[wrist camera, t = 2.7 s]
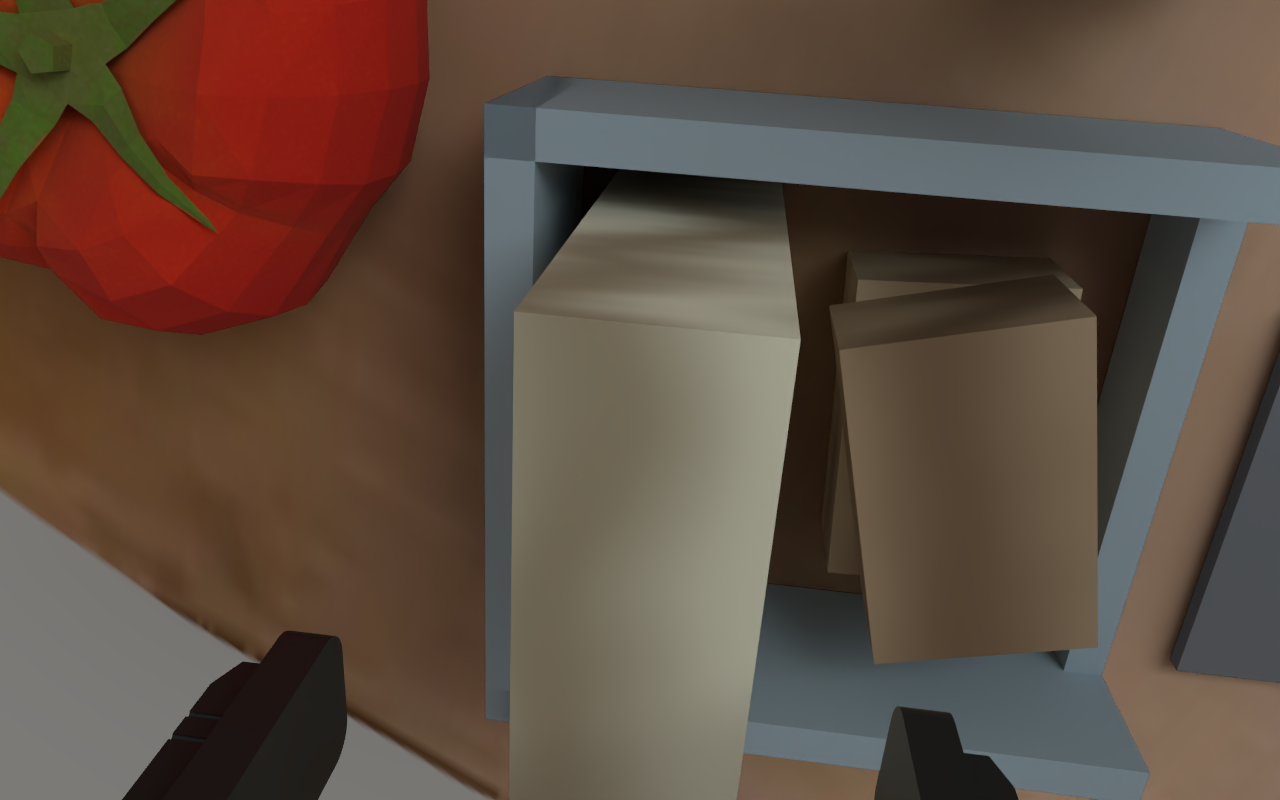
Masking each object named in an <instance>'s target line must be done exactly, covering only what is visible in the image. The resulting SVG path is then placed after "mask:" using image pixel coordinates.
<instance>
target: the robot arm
mask: <svg viewBox="0 0 1280 800" xmlns="http://www.w3.org/2000/svg"><path fill="white" fill-rule="evenodd" d="M346 727H347V709H346V695H345V682H344V668H343V654H342V645H341V641H340V639H339V638H338V637H336V636H329V635H321V634H313V633H305V632H296V631H285V632H284V633H282V634H281V635H280V637H279V638H278V639H277V641H276V642H275V643H274V645H273V646H272V648H271V649H270V650H269V652H268V653H267V655H266V656H265V657H264V659H263V660H262V662H261V663H260V664H258V663H250V662H242V663H240V664H239V665H237V666H236V667H234V668H233V669H232V670H230V671H229V672H227V673H226V674H224V675H223V676H221V677H220V678H218V679H217V680H215V681H214V682H213V683H211V684H210V685H209V687H208V688H207V689H206V691H205V692H204V693H203V695H202V696H201V697H200V698H199V700H198V701H197V702H196V704H195V705H194V706H193V708H192V709H191V710H190V714H189V716H188V717H185V718H184V719H183V721H182V722H181V723H180V725H179V726H178V727H177V729H176V730H175V731H174V733H173V736H172V739H171V740H170V739H168V740H167V742H166V743H165V744H164V746H163V747H162V748H161V750H160V751H159V752H158V753H157V755H156V756H155V757H154V759H153V760H152V761H151V763H150V764H149V765H148V766H147V768H146V769H145V771H144V772H143V773H142V774H141V776H140V777H139V778H138V780H137V781H136V782H135V783H134V785H133V786H132V788H131V789H130V790H129V792H128V793H127V794H126V795H125V797H124V798H123V799H122V800H318V798H319V796H320V795H321V792H322V790H323V789H324V787H325V785H326V783H327V781H328V779H329V777H330V775H331V774H332V772H333V770H334V768H335V766H336V764H337V762H338V760H339V757H340V754H341V751H342V748H343V744H344V740H345V735H346ZM874 800H1018V797H1017V794H1016V791H1015V788H1014V786H1013V785H1012V784H1011V782H1010V781H1009V780H1008V779H1007V778H1006V776H1005V775H1004V774H1003V773H1002V771H1001V770H1000V769H999V768H998V766H997V765H996V764H995V763H994V761H993V760H992V759H991V758H990V757H989V756H985V755H977V754H969V753H964V752H963V749H962V745H961V742H960V738H959V735H958V731H957V727H956V724H955V721H954V718H953V716H952V714H951V713H949V712H941V711H933V710H925V709H917V708H909V707H900V706H897V707H896V708H895V709H894V711H893V714H892V717H891V722H890V726H889V731H888V735H887V740H886V744H885V749H884V753H883V758H882V762H881V767H880V771H879V776H878V780H877V785H876V791H875V799H874Z"/></svg>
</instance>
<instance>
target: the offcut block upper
mask: <svg viewBox="0 0 1280 800" xmlns="http://www.w3.org/2000/svg"><path fill="white" fill-rule="evenodd" d="M829 308H830V317H831V326H832V334H833V343H834V352H835V361H836V370H837V379H838V387H839V396H840V405H841V414H842V423H843V432H844V440H845V449H846V458H847V467H848V476H849V485H850V493H851V502H852V511H853V520H854V529H855V538H856V546H857V555H858V564H859V573H860V582H861V591H862V597H863V602H864V608H865V614H866V620H867V626H868V631H869V637H870V643H871V649H872V655H873V660H874V664H884V663H898V662H911V661H924V660H938V659H951V658H965V657H978V656H992V655H1005V654H1019V653H1032V652H1045V651H1059V650H1072V649H1086V648H1098V521H1097V316H1096V315H1095V314H1094V313H1093V312H1092V311H1091V310H1090V309H1089V308H1088V307H1087V306H1086V305H1085V304H1084V303H1083V302H1082V301H1081V300H1079V299H1078V298H1077V297H1076V296H1075V295H1074V294H1073V293H1072V292H1071V291H1070V290H1069V289H1068V288H1067V287H1066V286H1065V285H1064V284H1063V283H1062V282H1061V281H1060V280H1059V279H1058V278H1057V277H1056V276H1055V275H1054V274H1052V275H1045V276H1038V277H1031V278H1024V279H1016V280H1009V281H1002V282H995V283H988V284H980V285H973V286H966V287H959V288H952V289H944V290H937V291H930V292H923V293H915V294H908V295H901V296H894V297H887V298H879V299H872V300H865V301H858V302H851V303H843V304H836V305H829Z"/></svg>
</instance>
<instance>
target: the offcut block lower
mask: <svg viewBox="0 0 1280 800" xmlns="http://www.w3.org/2000/svg"><path fill="white" fill-rule="evenodd" d="M1052 274H1054V275H1055V276H1056V277H1057V278H1058V279H1059V280H1060V281H1061V282H1062V283H1063V284H1064V285H1065V286H1066V287H1067V288H1068V289H1069V290H1070V291H1071V292H1072V293H1073V294H1074V295H1075V296H1076V297H1077V298H1078V299H1079V300H1081V297H1082V292H1083V289H1082V288H1081V287H1080V286H1079V285H1078V284H1077V283H1076V282H1075V281H1074V280H1073V279H1072V278H1071V277H1070V276H1068V275H1067V274H1066V273H1065V272H1064V271H1063V270H1062V269H1061V268H1060V267H1059V266H1058V265H1057V264H1056V263H1055V262H1054V261H1053V260H1051V259H1050V258H1029V257H1003V256H977V255H951V254H925V253H899V252H873V251H848V257H847V267H846V277H845V287H844V297H843V303H851V302H858V301H865V300H872V299H879V298H887V297H894V296H901V295H908V294H915V293H923V292H930V291H937V290H944V289H952V288H959V287H966V286H973V285H980V284H988V283H995V282H1002V281H1009V280H1016V279H1024V278H1031V277H1038V276H1045V275H1052ZM821 523H822V532H823V540H824V549H825V557H826V566H827V573H839V574H853V575H860V573H859V564H858V555H857V546H856V538H855V529H854V520H853V511H852V502H851V493H850V485H849V476H848V467H847V458H846V449H845V440H844V432H843V423H842V414H841V405H840V396H839V387H838V379H837V370H836V378H835V388H834V398H833V408H832V418H831V428H830V438H829V448H828V458H827V468H826V478H825V488H824V499H823V509H822V519H821Z"/></svg>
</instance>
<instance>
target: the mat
mask: <svg viewBox="0 0 1280 800" xmlns="http://www.w3.org/2000/svg"><path fill="white" fill-rule="evenodd" d="M1170 660H1171V662H1172V663H1173V665H1174V667H1175V668H1176V670H1177V671H1185V672H1193V673H1201V674H1210V675H1218V676H1227V677H1235V678H1243V679H1252V680H1260V681H1268V682H1277V683H1280V352H1279V355H1278V358H1277V360H1276V363H1275V366H1274V369H1273V372H1272V374H1271V377H1270V380H1269V383H1268V386H1267V388H1266V391H1265V394H1264V397H1263V400H1262V402H1261V405H1260V408H1259V411H1258V414H1257V417H1256V419H1255V422H1254V425H1253V428H1252V431H1251V433H1250V436H1249V439H1248V442H1247V445H1246V447H1245V450H1244V453H1243V456H1242V459H1241V461H1240V464H1239V467H1238V470H1237V473H1236V476H1235V478H1234V481H1233V484H1232V487H1231V490H1230V492H1229V495H1228V498H1227V501H1226V504H1225V506H1224V509H1223V512H1222V515H1221V518H1220V520H1219V523H1218V526H1217V529H1216V532H1215V535H1214V537H1213V540H1212V543H1211V546H1210V549H1209V551H1208V554H1207V557H1206V560H1205V563H1204V565H1203V568H1202V571H1201V574H1200V577H1199V579H1198V582H1197V585H1196V588H1195V591H1194V594H1193V596H1192V599H1191V602H1190V605H1189V608H1188V610H1187V613H1186V616H1185V619H1184V622H1183V624H1182V627H1181V630H1180V633H1179V636H1178V639H1177V641H1176V644H1175V647H1174V650H1173V653H1172V655H1171V658H1170Z"/></svg>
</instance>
